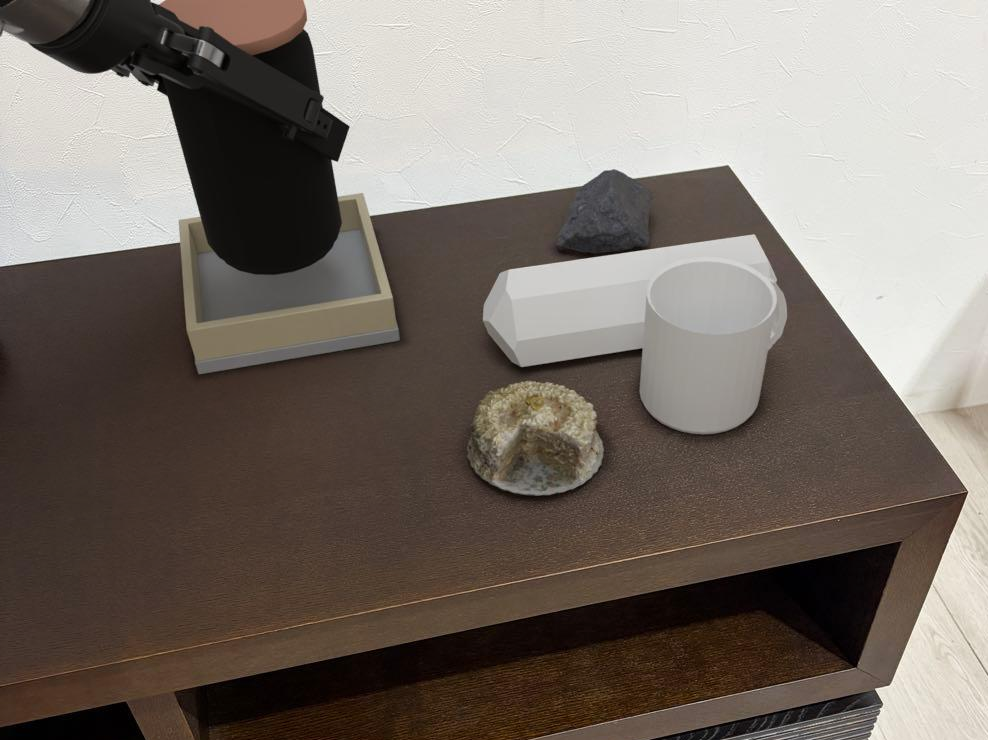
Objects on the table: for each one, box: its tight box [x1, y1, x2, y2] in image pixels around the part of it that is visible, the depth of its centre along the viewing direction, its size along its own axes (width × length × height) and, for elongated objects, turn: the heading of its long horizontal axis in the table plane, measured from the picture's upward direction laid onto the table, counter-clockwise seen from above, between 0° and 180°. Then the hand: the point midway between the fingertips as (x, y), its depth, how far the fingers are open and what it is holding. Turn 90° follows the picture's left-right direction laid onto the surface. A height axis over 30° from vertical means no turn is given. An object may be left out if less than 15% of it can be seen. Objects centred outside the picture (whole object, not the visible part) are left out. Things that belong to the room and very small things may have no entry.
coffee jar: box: [158, 0, 342, 275], centre depth 81 cm, size 11×11×18 cm
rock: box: [556, 168, 654, 255], centre depth 96 cm, size 9×6×10 cm
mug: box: [638, 257, 788, 435], centre depth 80 cm, size 12×9×9 cm
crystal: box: [482, 233, 778, 368], centre depth 87 cm, size 7×7×24 cm
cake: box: [465, 380, 605, 497], centre depth 78 cm, size 10×10×5 cm
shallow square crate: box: [178, 192, 401, 375], centre depth 91 cm, size 16×16×4 cm
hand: (280, 124), depth 83 cm, fingers closed on coffee jar, 11 cm apart
